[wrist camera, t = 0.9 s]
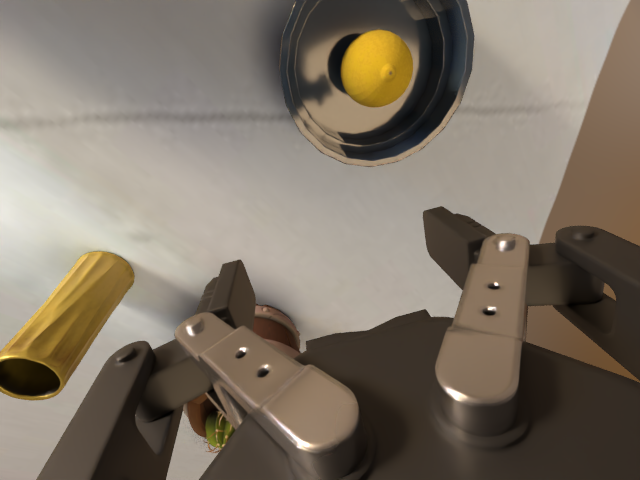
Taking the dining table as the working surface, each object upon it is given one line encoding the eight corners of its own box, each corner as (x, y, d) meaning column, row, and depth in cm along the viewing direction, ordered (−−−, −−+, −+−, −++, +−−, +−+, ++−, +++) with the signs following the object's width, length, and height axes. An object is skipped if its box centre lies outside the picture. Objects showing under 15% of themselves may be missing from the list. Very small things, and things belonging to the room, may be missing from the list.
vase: (111, 242, 36) (27, 342, 24) (146, 282, 39) (87, 389, 27) (63, 262, 37) (-43, 370, 24) (101, 300, 40) (24, 413, 28)
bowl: (245, 23, 28) (239, 18, 23) (412, -82, 26) (443, -111, 21) (325, 175, 35) (333, 195, 31) (460, 103, 33) (491, 113, 28)
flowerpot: (184, 356, 46) (131, 540, 29) (220, 272, 40) (178, 442, 23) (281, 377, 50) (285, 547, 33) (326, 304, 44) (360, 466, 27)
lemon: (402, 80, 31) (438, 89, 24) (350, 111, 32) (370, 129, 25) (379, 18, 28) (412, 8, 21) (322, 54, 29) (337, 55, 22)
